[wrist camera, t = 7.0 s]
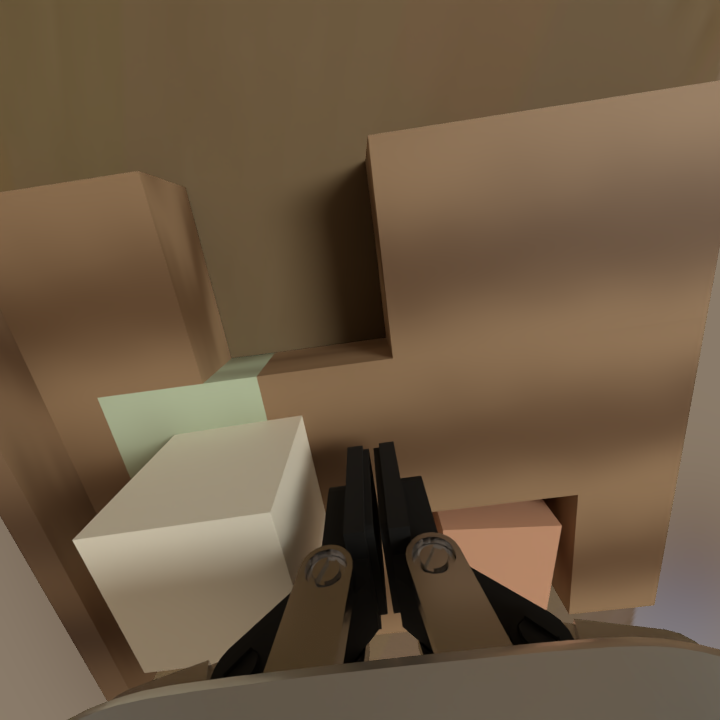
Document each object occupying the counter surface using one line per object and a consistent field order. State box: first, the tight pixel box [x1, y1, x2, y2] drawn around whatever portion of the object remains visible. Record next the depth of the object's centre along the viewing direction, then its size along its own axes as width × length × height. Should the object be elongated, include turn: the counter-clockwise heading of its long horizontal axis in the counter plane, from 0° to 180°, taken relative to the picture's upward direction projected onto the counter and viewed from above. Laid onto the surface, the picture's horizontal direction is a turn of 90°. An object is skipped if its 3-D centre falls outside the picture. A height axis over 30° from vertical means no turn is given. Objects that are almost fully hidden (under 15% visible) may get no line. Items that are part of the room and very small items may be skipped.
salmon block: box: [432, 499, 562, 610], centre depth 17 cm, size 5×5×4 cm
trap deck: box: [0, 81, 720, 701], centre depth 14 cm, size 21×25×5 cm
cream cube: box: [72, 415, 326, 673], centre depth 11 cm, size 5×5×5 cm
